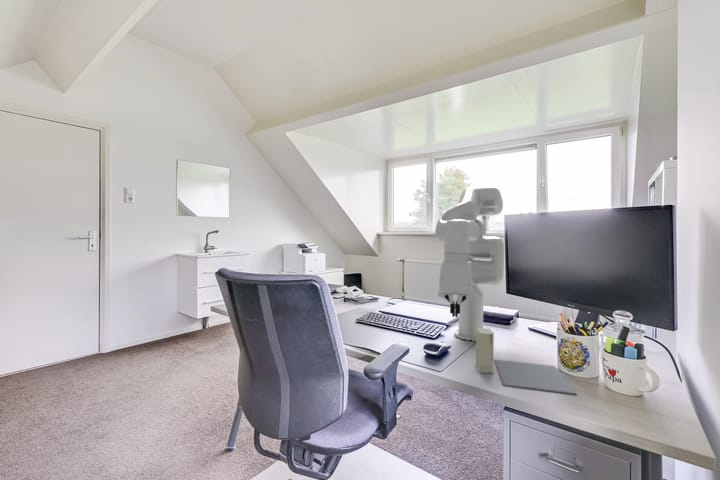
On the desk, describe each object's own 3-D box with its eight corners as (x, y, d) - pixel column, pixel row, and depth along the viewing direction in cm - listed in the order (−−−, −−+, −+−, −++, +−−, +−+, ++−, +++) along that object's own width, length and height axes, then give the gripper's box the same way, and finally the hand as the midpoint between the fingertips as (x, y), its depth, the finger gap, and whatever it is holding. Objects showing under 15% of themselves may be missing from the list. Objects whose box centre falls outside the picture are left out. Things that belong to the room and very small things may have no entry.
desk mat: (494, 360, 107) (494, 359, 107) (554, 367, 102) (554, 365, 102) (503, 385, 90) (503, 384, 90) (576, 394, 85) (576, 393, 85)
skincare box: (493, 374, 97) (494, 334, 97) (478, 372, 98) (479, 333, 97) (489, 365, 103) (490, 328, 103) (475, 364, 104) (476, 327, 104)
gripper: (479, 258, 103) (478, 315, 104) (432, 257, 107) (431, 311, 107) (482, 260, 96) (481, 320, 96) (431, 258, 100) (430, 316, 100)
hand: (454, 315), depth 102 cm, fingers closed
